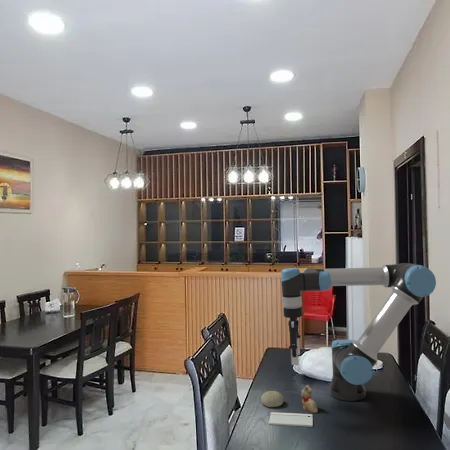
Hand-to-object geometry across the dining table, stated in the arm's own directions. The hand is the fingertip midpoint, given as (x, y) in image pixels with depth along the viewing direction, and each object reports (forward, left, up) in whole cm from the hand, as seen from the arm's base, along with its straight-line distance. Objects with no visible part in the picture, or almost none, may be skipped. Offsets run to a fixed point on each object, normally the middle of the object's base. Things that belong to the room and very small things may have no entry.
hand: (296, 359), depth 168 cm
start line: (+2, +7, -20) cm, 21 cm away
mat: (+2, +12, -20) cm, 23 cm away
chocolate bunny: (-5, +1, -20) cm, 20 cm away
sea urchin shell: (+11, -3, -20) cm, 23 cm away
